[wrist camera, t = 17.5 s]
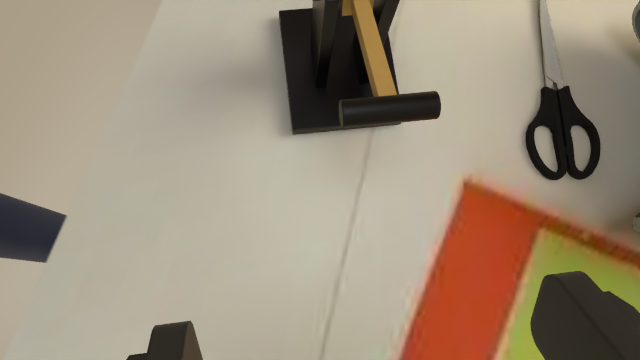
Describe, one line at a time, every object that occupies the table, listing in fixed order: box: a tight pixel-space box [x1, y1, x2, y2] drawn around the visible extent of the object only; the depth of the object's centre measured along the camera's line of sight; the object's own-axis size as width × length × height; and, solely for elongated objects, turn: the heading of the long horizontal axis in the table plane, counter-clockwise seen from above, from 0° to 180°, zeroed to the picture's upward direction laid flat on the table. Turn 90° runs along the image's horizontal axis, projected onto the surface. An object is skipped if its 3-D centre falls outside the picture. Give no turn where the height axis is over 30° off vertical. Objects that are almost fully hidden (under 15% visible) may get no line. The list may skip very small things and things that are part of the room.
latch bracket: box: [279, 0, 401, 134], centre depth 36 cm, size 12×10×14 cm
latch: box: [339, 0, 441, 128], centre depth 29 cm, size 13×6×2 cm, turn 7°
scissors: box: [526, 0, 600, 180], centre depth 44 cm, size 7×1×20 cm
